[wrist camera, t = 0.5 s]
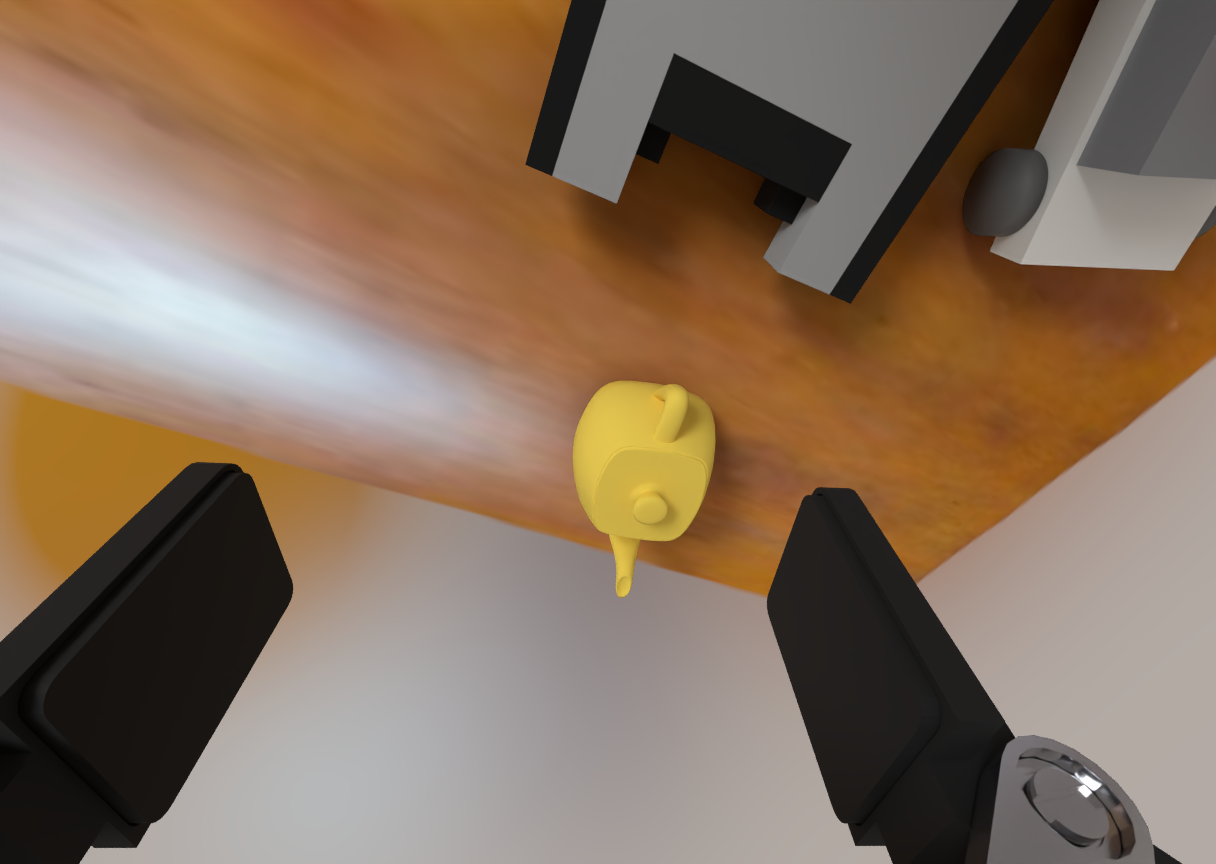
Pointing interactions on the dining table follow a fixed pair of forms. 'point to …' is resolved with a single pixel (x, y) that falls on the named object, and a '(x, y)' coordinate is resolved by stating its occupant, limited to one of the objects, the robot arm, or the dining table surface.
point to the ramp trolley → (1114, 148)
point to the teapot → (642, 465)
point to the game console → (783, 106)
